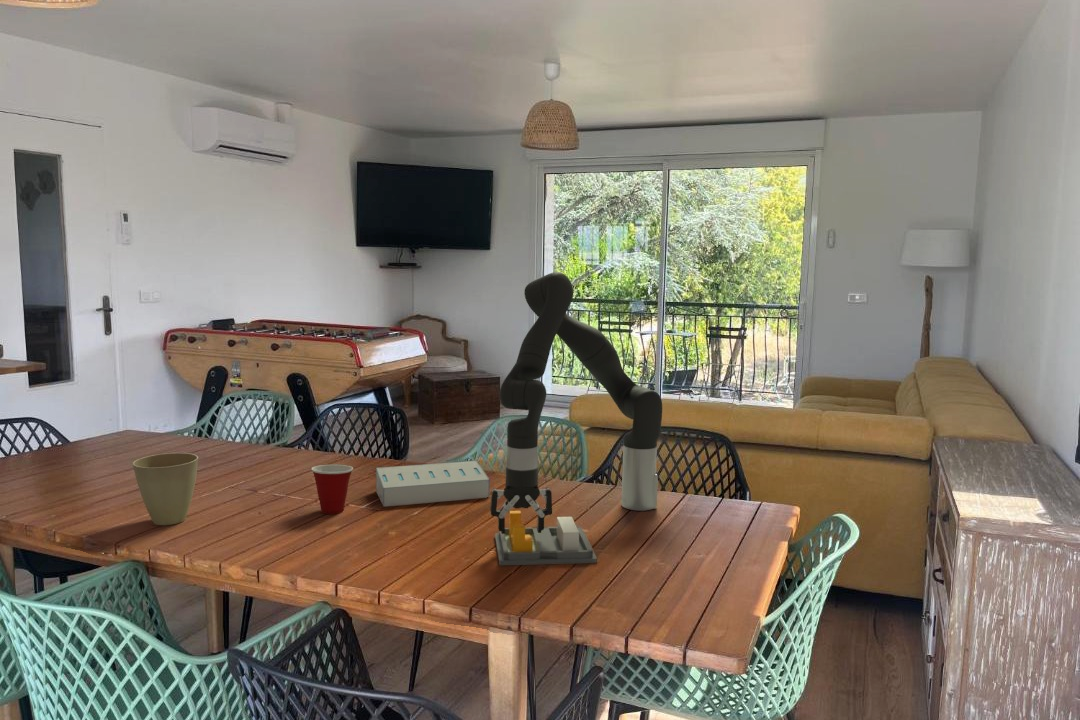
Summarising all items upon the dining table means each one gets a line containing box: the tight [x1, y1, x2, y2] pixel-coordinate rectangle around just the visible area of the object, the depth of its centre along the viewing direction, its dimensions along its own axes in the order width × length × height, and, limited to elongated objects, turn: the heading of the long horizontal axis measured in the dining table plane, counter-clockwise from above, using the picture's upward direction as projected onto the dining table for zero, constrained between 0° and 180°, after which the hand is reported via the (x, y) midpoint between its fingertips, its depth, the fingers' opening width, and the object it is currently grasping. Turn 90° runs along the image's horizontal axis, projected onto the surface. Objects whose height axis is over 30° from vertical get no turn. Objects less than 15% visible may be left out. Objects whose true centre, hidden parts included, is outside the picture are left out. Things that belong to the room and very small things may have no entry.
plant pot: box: [132, 452, 199, 526], centre depth 198 cm, size 15×15×16 cm
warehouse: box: [375, 460, 491, 507], centre depth 225 cm, size 30×14×8 cm, turn 110°
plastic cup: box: [311, 464, 354, 515], centre depth 209 cm, size 11×11×12 cm
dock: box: [494, 516, 598, 566], centre depth 184 cm, size 22×18×6 cm
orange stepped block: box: [508, 510, 533, 552], centre depth 183 cm, size 12×4×6 cm, turn 7°
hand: (520, 532), depth 183 cm, fingers open, 8 cm apart
